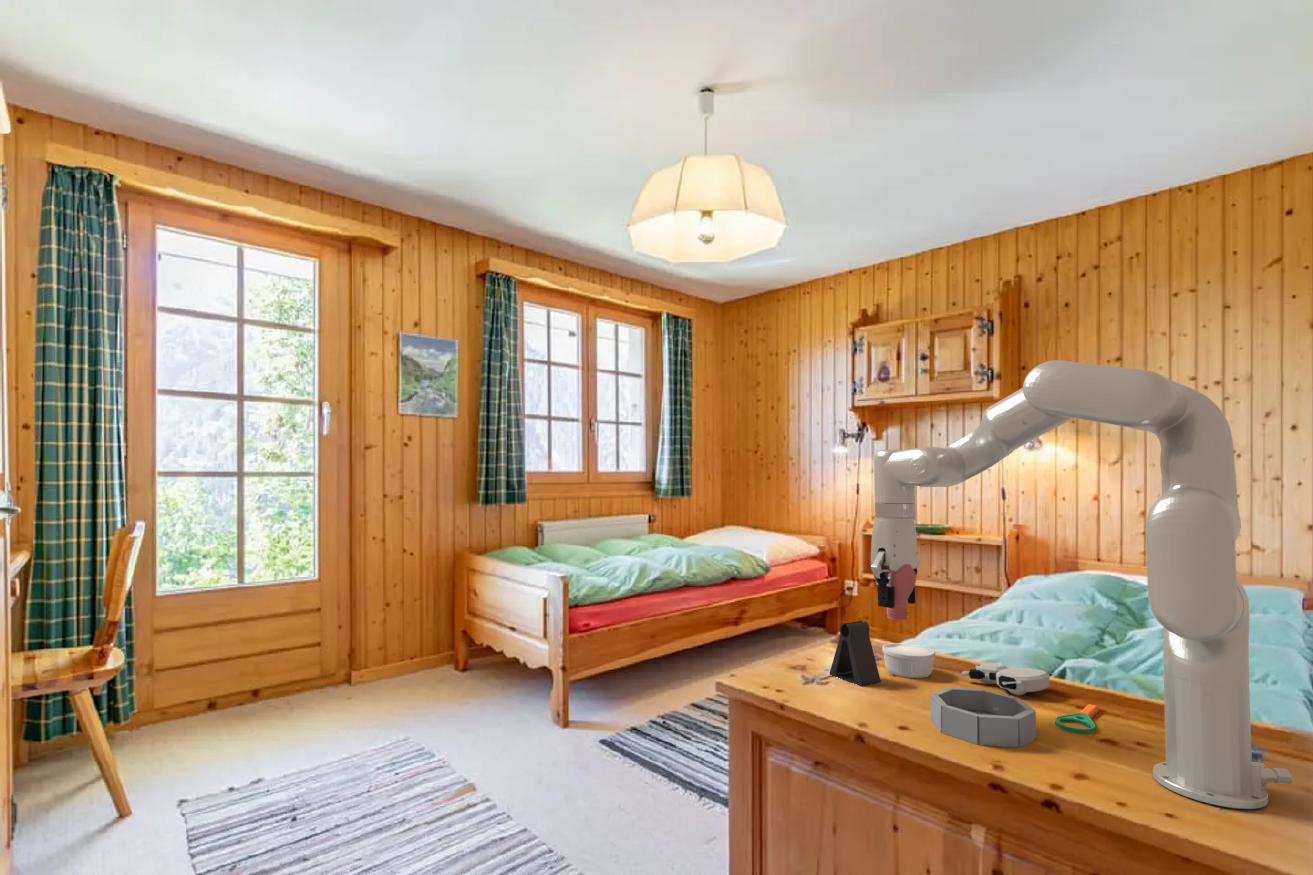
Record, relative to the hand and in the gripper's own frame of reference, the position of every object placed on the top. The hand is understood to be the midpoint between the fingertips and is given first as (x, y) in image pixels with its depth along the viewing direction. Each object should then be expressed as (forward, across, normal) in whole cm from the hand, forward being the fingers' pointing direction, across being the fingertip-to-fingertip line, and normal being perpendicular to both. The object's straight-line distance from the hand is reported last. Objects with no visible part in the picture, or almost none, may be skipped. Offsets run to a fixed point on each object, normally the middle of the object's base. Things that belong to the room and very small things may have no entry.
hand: (896, 604), depth 129 cm
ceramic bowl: (+19, 0, +16) cm, 25 cm away
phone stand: (+19, -8, -15) cm, 25 cm away
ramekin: (+19, -22, -10) cm, 30 cm away
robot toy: (+20, -28, +9) cm, 35 cm away
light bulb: (+4, 0, 0) cm, 4 cm away
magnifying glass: (+20, -18, +25) cm, 37 cm away
